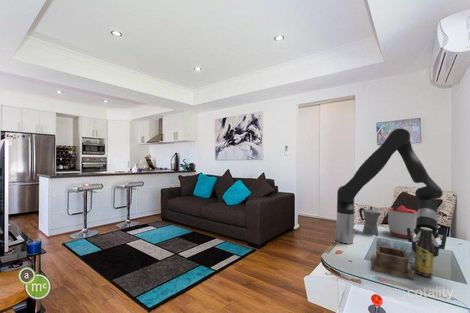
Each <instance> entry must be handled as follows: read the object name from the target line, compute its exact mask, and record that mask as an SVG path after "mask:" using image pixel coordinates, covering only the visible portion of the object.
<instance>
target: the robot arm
mask: <svg viewBox="0 0 470 313" xmlns="http://www.w3.org/2000/svg"><path fill="white" fill-rule="evenodd" d="M396 151H397V152H398V153H399V155H400V157H401V158H402V161H403V162H404V165H405V167H406V169H407V172H408V173H409V175H410V178H411V179H412V181H413V183H414V184H420V183H421V184H424V185H425V186H421V187H419V188H417V189H416V191H415V192H414V195H415V198H416V202H417V218H416V228H415V229H414V230H413V229H410V228H407V238H406V239H407V242H408V243H411V250H412V251H413V252H414V253H415V252H416V244H417V242H418V240H419V238H420V234H421V231H420V228H421V227H426V228H430V229H432V230H433V232H432V237H431V238H432V239H431V240H432V242H433V244H434V258H437V257H439V254H440V253H439V250H443V251H444V250H445V248H446V243H447V236H448V235H446V234H439V233H438V219H439V218H438V204H437V203H436V202H435V201H434V200H438V199H441V198H442V196H443V190H442V188H441V187H440V186H439V185H438V184H437V183H436V182H435V181H434V180H433V179H432V178H431V177H430V176H429V174H428V172H427V169H426V168H425V166H424V164H423V163H422V162H421V161H420V159H419V157H418V155H417V154H416V153H415V151H414V149H413V145H412V144H411V133H410V132H409V131H408V129H406V128H403V127H402V128H401V127H399V128H396V129H394V130H392V131H391V132H390V133H389V135H388V136H387V137H386V139H385V140H384V141H383V142H382V144H381V145H380V146H379V147H378V148H377V149H376V150H375V151H374V152H372V154H371V155H370V156H369V157H368V158H366V159H365V161H364V162H363V163H362V164H361V165H360V166H359V167H358V169H357V170H356V172H355V173H354V175H353V177H351V178H350V179H349V181H348V182H346V183H345V184H344V185H342V186H340V187H338V189H337V195H336V196H337V197H336V198H337V200H336V203H337V204H336V224H335V241H336V242H338V241H339V242H338V243H340V242H342V243H341V244H344V243H347V244H346V245H351V243H352V244H354V229H355V228H354V225H355V224H354V222H355V220H354V219H355V198H356V196H357V195H358V194H359V192H360V191H361V190H362V189H363V188H364V187H365V185H367V184H368V183H369V182H371V180H373V179H374V178H375V177H376V176H377V175H378V174H379V173H380V172H381V171H382V170H383V169H384V168H385V166H386V165H387V163H388V162H389V161H390V159H391V157H392V156H393V155H394V154H395V152H396ZM413 232H414V236H415V237H414V238H411V234H413ZM437 238H439V240H440V241H441V242H440V244H439V242H437V240H436V239H437Z"/></svg>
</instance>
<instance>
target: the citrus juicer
mask: <svg viewBox="0 0 470 313" xmlns="http://www.w3.org/2000/svg"><path fill="white" fill-rule="evenodd" d="M387 210H388V211H387V212H388V216H387V218H388V219H387V220H388V221H387V222H388V224H387V225H388V228H389V229H388V230H389V232H390V234H391V235H393V236H395V237H397V236H398V237H397V238H405V239H408V238H407V228H410V229H413V230H414V229H415V228H416V218H417V213H418V210H414V209H411V208H410V209H409V208H406V206H404V205H400V206H399V207H397V209H396V210H394V208H393V207H388V208H387ZM414 236H415V233H414V232H413V234H411V239H413V237H414Z"/></svg>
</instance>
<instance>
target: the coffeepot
mask: <svg viewBox="0 0 470 313" xmlns="http://www.w3.org/2000/svg"><path fill="white" fill-rule="evenodd" d="M358 213H359V216H360V220H361V221H364V224H363V228H362V229H363V230H362V233H363V232H364V233H363V234H365V233H366V234H365V235H367V234H371V235H370V236H373V235H377V236H378V235H379V228H378V224H377V223H378V222H379V221H378V220H379V216H381V215H382V213H381V212H380V211H378V210H376V209H373V206H369V209H367V208H365V207H360V208H359V210H358Z"/></svg>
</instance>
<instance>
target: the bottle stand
mask: <svg viewBox="0 0 470 313" xmlns="http://www.w3.org/2000/svg"><path fill="white" fill-rule="evenodd" d="M371 270H372V271H374V270H375V272H379V273H383V274H387V273H388V274H387V275H392V276H396V277H400V278H403V279H408V280H411V281H414V280H415V277H414V276H415V275H414V273H413V270H412V267H411V264H410V262H409V257H408V254H407V251H406V250H405V249H399V248H394V247H389V246H384V245H379V244H377V245H376V254H372V256H371Z"/></svg>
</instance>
